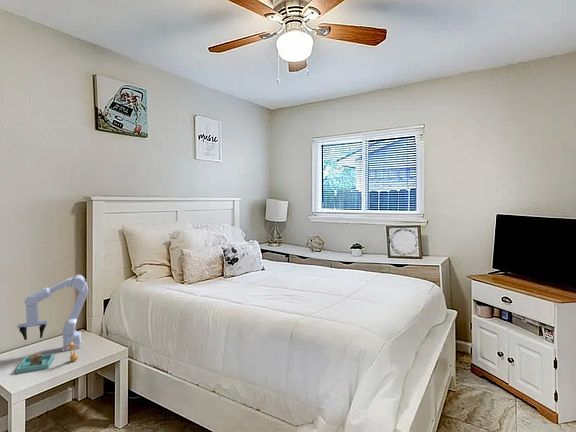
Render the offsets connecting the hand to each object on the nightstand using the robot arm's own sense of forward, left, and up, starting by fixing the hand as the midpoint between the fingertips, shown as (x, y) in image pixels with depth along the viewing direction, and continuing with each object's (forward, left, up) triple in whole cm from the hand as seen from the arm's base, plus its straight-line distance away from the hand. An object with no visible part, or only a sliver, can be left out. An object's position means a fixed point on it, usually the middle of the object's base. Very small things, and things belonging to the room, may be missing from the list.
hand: (33, 338), depth 208 cm
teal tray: (-5, +17, -9) cm, 20 cm away
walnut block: (-5, +17, -9) cm, 20 cm away
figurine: (-23, +20, -10) cm, 32 cm away
